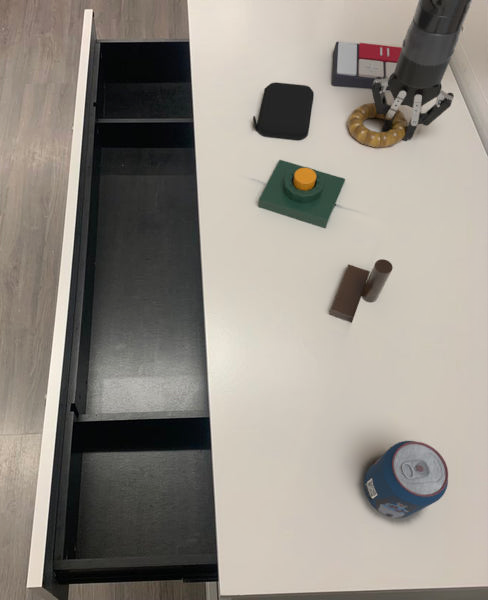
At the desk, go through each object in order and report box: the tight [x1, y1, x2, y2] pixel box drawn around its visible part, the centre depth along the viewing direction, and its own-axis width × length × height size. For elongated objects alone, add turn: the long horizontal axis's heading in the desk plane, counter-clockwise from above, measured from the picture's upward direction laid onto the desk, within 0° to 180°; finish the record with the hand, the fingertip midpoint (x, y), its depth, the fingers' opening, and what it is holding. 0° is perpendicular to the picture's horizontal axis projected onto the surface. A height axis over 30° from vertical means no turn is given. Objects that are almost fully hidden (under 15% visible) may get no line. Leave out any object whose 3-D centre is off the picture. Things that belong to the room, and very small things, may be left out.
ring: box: [347, 102, 409, 148], centre depth 97 cm, size 10×10×3 cm
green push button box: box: [257, 159, 346, 229], centre depth 90 cm, size 12×10×4 cm
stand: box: [328, 258, 394, 324], centre depth 77 cm, size 9×9×10 cm
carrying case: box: [252, 82, 315, 141], centre depth 101 cm, size 11×3×15 cm
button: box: [293, 167, 316, 191], centre depth 88 cm, size 4×4×2 cm
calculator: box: [330, 40, 402, 91], centre depth 106 cm, size 11×4×15 cm
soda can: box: [363, 440, 449, 519], centre depth 62 cm, size 7×7×12 cm
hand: (396, 134), depth 97 cm, fingers closed on ring, 3 cm apart
